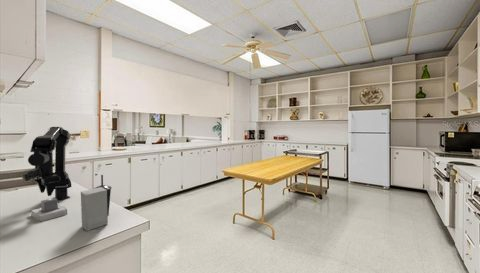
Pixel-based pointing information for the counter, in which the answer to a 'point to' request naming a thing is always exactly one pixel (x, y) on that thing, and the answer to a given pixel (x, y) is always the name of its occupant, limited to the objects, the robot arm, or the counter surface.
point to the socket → (48, 213)
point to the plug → (49, 205)
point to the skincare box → (94, 208)
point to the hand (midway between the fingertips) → (45, 194)
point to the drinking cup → (107, 192)
